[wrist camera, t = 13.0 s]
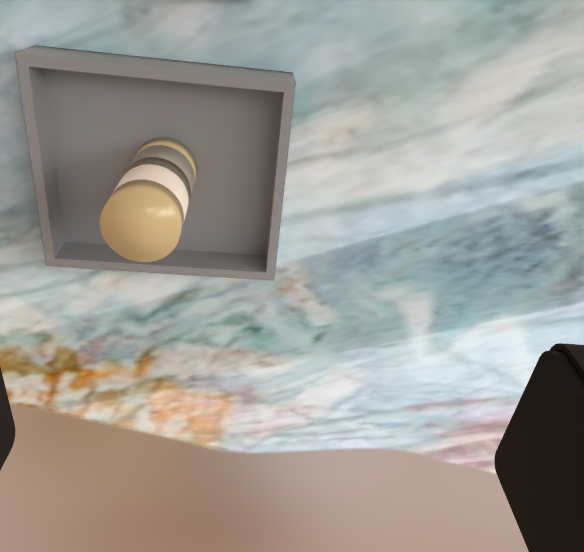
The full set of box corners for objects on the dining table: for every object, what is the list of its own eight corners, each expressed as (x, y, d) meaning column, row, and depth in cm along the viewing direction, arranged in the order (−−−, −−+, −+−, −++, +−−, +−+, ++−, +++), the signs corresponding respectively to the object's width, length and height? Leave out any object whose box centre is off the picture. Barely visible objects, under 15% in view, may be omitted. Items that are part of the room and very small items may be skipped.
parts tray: (292, 72, 33) (295, 82, 30) (273, 259, 39) (274, 280, 37) (35, 45, 31) (14, 53, 28) (60, 244, 38) (46, 265, 35)
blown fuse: (197, 139, 34) (180, 194, 26) (197, 198, 36) (180, 264, 28) (133, 134, 33) (96, 187, 26) (136, 194, 35) (102, 260, 28)
